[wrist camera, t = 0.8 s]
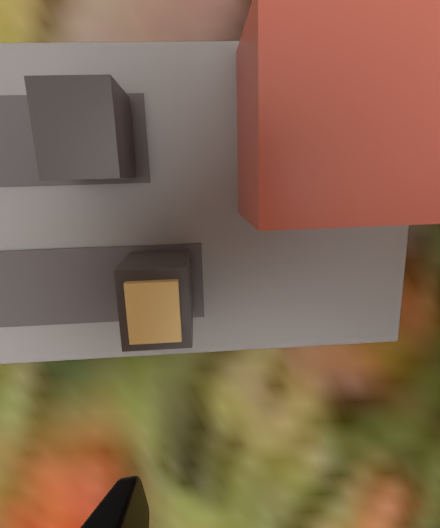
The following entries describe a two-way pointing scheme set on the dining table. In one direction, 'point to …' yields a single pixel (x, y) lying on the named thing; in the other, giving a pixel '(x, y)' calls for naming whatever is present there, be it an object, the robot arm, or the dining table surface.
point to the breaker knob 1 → (80, 127)
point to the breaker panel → (170, 221)
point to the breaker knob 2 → (155, 300)
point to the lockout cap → (339, 114)
